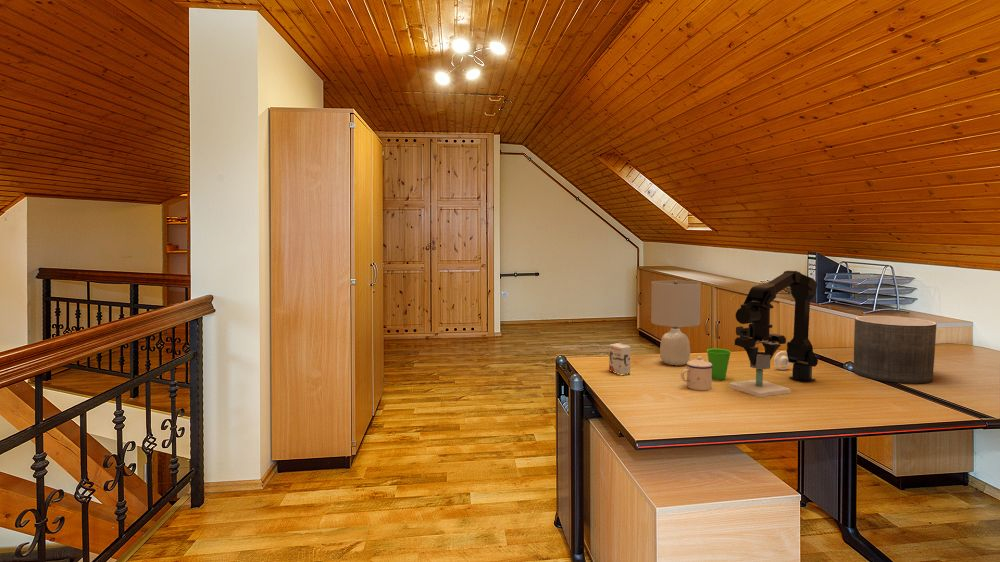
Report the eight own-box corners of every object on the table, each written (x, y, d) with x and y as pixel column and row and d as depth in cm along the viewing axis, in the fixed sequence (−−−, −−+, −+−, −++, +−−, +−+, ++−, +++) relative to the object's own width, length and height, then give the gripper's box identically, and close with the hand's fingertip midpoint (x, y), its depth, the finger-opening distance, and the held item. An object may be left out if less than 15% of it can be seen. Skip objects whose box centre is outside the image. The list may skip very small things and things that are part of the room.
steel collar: (759, 364, 191) (759, 350, 190) (774, 368, 185) (774, 354, 184) (746, 365, 188) (746, 352, 188) (760, 369, 182) (760, 355, 182)
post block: (758, 382, 196) (758, 363, 195) (790, 392, 183) (790, 372, 182) (729, 386, 191) (729, 367, 191) (759, 397, 178) (760, 376, 178)
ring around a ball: (776, 371, 212) (777, 352, 212) (767, 368, 218) (768, 349, 217) (794, 370, 214) (794, 351, 213) (784, 367, 219) (785, 348, 219)
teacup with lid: (702, 383, 197) (702, 353, 196) (717, 389, 188) (718, 358, 187) (674, 385, 194) (674, 355, 193) (688, 392, 185) (689, 360, 184)
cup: (733, 381, 198) (733, 353, 197) (708, 380, 200) (708, 353, 199) (727, 375, 207) (728, 348, 206) (703, 374, 209) (704, 348, 208)
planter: (943, 377, 201) (946, 321, 199) (919, 388, 186) (922, 328, 184) (867, 364, 221) (870, 313, 220) (841, 374, 207) (843, 319, 205)
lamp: (654, 368, 219) (654, 282, 217) (648, 358, 239) (649, 279, 236) (704, 370, 216) (705, 282, 213) (694, 359, 236) (695, 279, 233)
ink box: (608, 371, 216) (608, 343, 215) (617, 370, 218) (617, 342, 218) (621, 376, 209) (621, 347, 208) (631, 374, 211) (631, 346, 210)
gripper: (762, 316, 196) (761, 357, 197) (723, 320, 190) (722, 361, 191) (787, 320, 185) (786, 363, 187) (747, 324, 179) (746, 368, 180)
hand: (759, 364), depth 186 cm, fingers closed on steel collar, 6 cm apart
